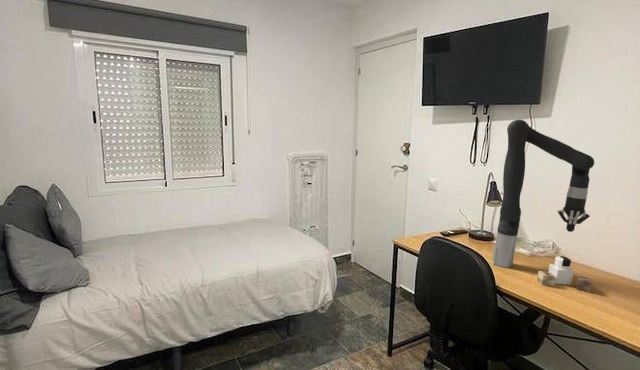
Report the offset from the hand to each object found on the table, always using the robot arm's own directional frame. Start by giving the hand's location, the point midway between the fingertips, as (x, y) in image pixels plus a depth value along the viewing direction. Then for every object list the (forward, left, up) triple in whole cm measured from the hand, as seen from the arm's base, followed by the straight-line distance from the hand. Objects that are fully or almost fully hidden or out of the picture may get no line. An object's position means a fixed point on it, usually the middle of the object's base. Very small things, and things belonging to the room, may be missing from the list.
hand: (569, 231), depth 163 cm
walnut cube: (+5, -12, -24) cm, 27 cm away
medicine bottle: (-3, -7, -24) cm, 25 cm away
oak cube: (-10, -13, -24) cm, 29 cm away
